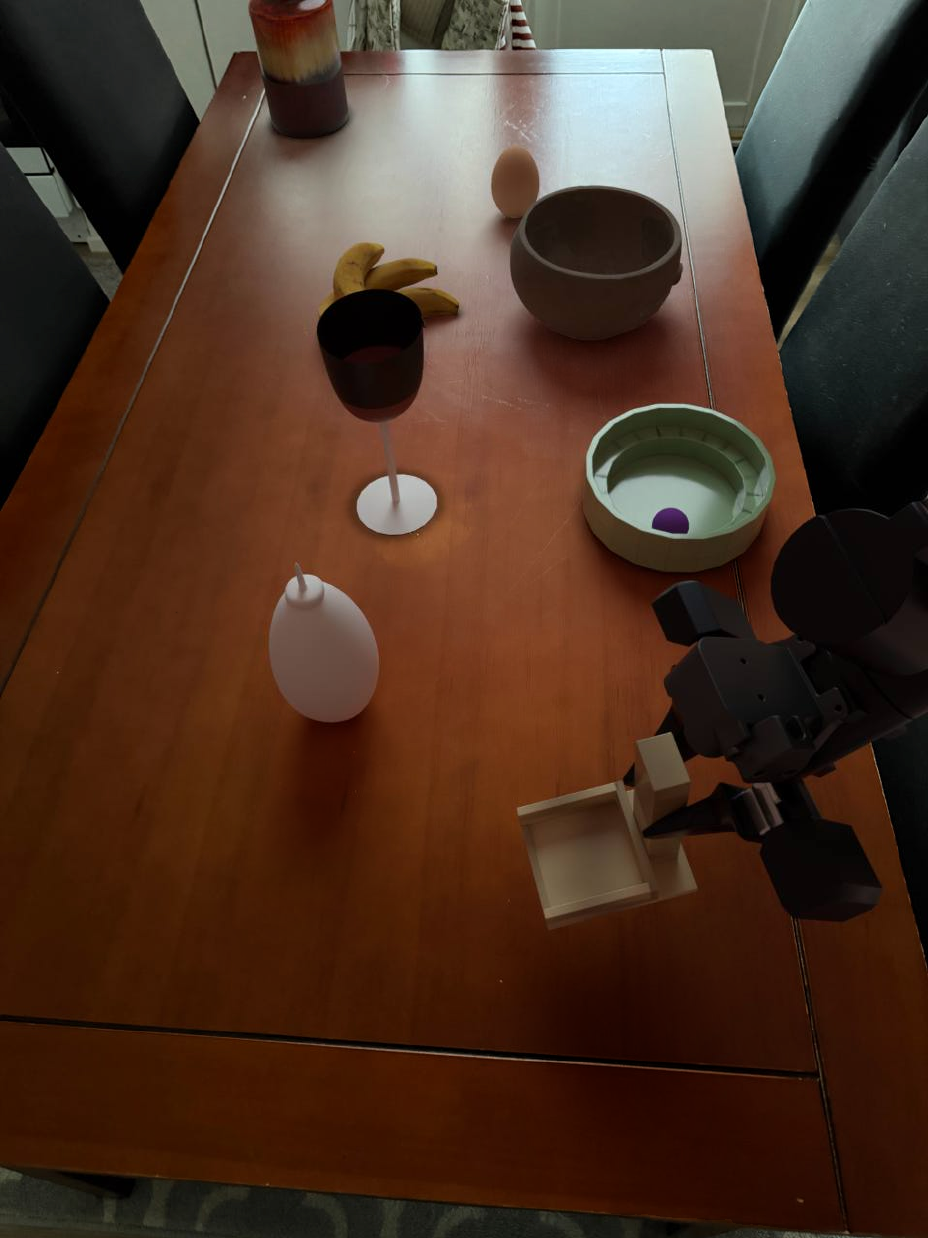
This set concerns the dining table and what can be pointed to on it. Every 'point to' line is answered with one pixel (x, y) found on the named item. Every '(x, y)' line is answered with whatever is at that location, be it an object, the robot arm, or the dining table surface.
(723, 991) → the dining table surface
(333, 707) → the sauce bottle
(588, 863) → the scoop
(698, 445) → the green bowl
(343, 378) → the wineglass
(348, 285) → the banana
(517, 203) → the egg
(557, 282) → the bowl
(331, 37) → the vase
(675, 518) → the ball
